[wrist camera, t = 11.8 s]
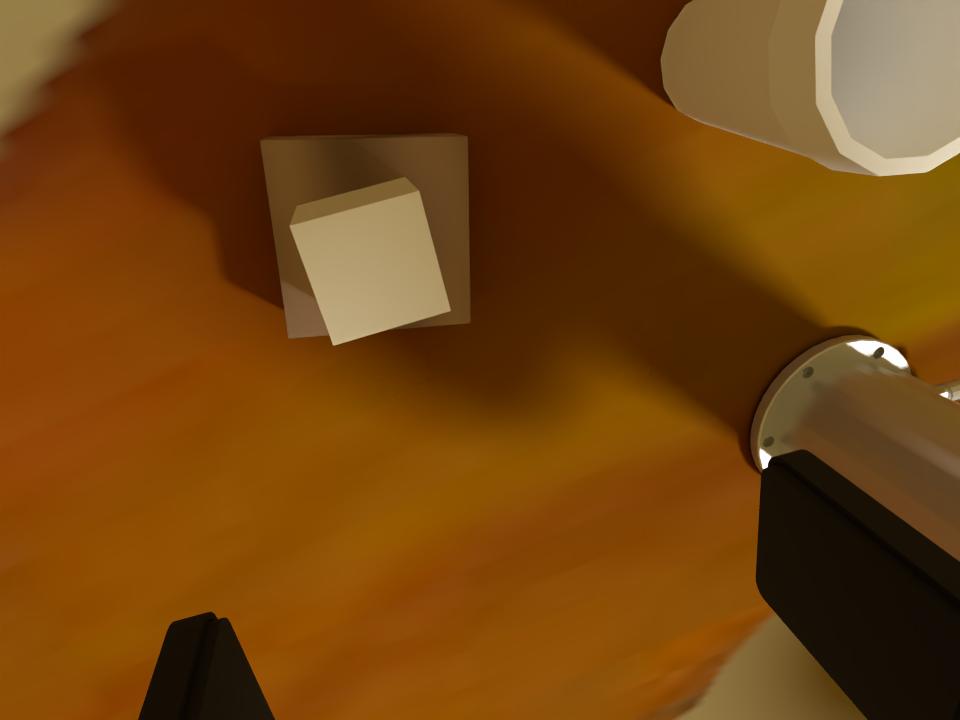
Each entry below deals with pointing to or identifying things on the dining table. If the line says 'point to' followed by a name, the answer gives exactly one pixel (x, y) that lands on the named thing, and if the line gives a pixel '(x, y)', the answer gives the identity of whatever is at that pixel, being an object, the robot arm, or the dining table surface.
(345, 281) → the cream cube
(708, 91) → the foam cup
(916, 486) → the robot arm
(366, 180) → the walnut base
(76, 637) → the dining table surface
